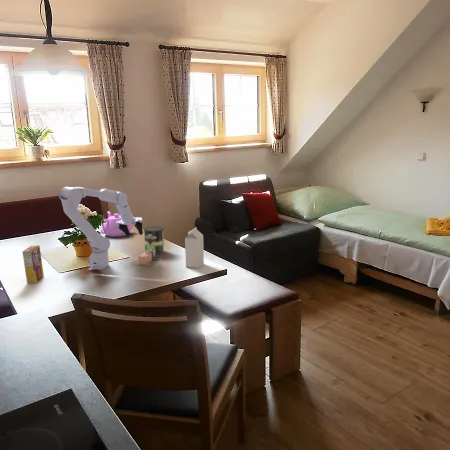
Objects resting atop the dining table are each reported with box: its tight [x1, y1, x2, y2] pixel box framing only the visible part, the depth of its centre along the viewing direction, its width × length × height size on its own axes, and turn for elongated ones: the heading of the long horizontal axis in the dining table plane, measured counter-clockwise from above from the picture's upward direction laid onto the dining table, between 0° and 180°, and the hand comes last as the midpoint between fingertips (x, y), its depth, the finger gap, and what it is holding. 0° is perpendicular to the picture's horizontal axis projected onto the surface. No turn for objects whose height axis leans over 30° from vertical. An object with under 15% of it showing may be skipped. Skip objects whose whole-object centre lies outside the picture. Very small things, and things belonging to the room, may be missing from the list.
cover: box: [137, 251, 152, 265], centre depth 212 cm, size 7×4×4 cm, turn 165°
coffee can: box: [143, 226, 165, 255], centre depth 229 cm, size 10×10×14 cm
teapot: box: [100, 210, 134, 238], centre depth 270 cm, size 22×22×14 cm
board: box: [131, 255, 163, 267], centre depth 215 cm, size 15×10×2 cm, turn 165°
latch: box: [144, 249, 157, 259], centre depth 217 cm, size 6×4×5 cm, turn 165°
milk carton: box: [184, 226, 205, 269], centre depth 208 cm, size 7×7×19 cm
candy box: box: [22, 245, 45, 285], centre depth 190 cm, size 9×4×15 cm, turn 0°
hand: (135, 234), depth 220 cm, fingers open, 7 cm apart
